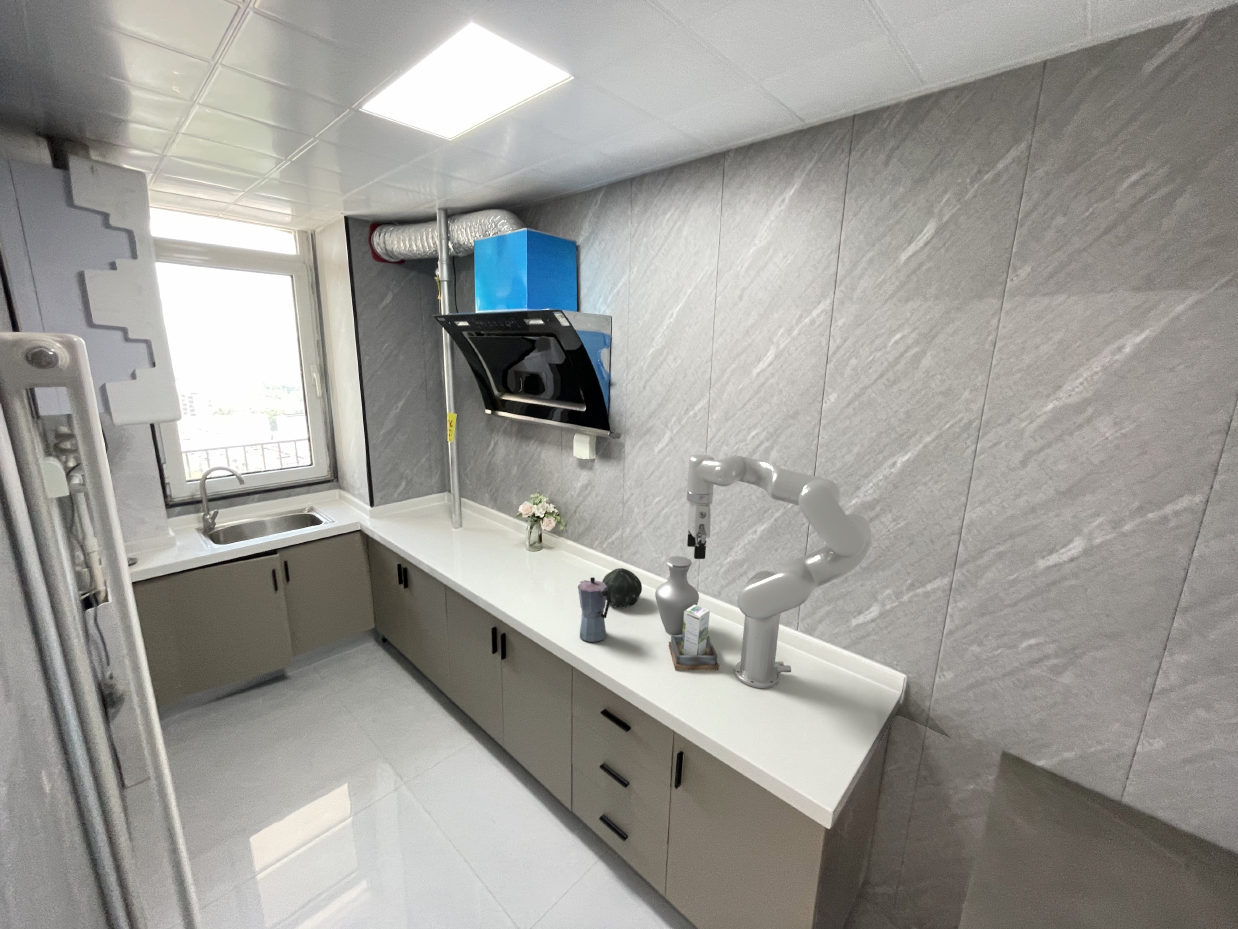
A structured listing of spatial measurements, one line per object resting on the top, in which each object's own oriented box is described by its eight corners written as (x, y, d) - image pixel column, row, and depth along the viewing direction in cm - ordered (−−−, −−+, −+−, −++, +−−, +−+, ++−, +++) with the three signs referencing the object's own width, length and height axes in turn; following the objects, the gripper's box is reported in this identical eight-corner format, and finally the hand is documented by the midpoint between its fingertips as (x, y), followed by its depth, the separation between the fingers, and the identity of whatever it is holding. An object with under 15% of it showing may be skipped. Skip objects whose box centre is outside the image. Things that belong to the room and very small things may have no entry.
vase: (648, 636, 168) (651, 565, 163) (660, 616, 182) (663, 550, 176) (691, 645, 164) (696, 572, 158) (700, 624, 177) (705, 556, 172)
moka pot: (589, 622, 176) (590, 567, 172) (621, 640, 165) (623, 582, 161) (567, 632, 169) (568, 575, 165) (599, 651, 159) (600, 591, 155)
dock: (709, 646, 164) (709, 634, 163) (718, 670, 151) (719, 658, 150) (668, 645, 163) (669, 634, 162) (675, 670, 150) (675, 658, 150)
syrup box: (690, 646, 161) (693, 603, 158) (706, 653, 157) (710, 609, 154) (680, 653, 156) (683, 609, 153) (697, 661, 153) (700, 616, 150)
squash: (626, 575, 202) (609, 555, 193) (654, 589, 192) (638, 568, 182) (605, 605, 197) (587, 586, 187) (633, 621, 187) (615, 601, 177)
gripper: (720, 505, 142) (715, 563, 145) (705, 489, 158) (701, 542, 162) (693, 505, 141) (689, 563, 144) (681, 489, 158) (678, 542, 161)
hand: (695, 552), depth 153 cm, fingers open, 9 cm apart
